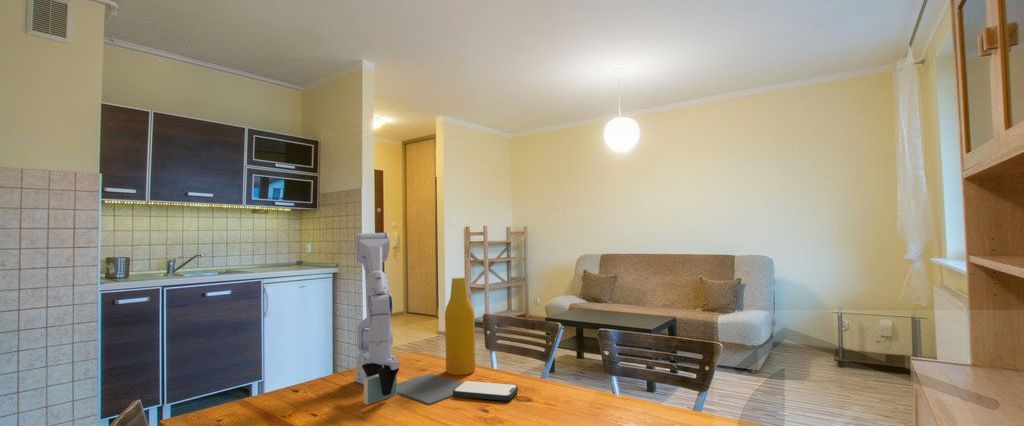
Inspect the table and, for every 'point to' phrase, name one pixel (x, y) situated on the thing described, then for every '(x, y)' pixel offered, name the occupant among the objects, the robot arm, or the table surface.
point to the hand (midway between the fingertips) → (380, 392)
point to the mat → (428, 388)
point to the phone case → (486, 390)
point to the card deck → (376, 389)
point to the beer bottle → (459, 330)
